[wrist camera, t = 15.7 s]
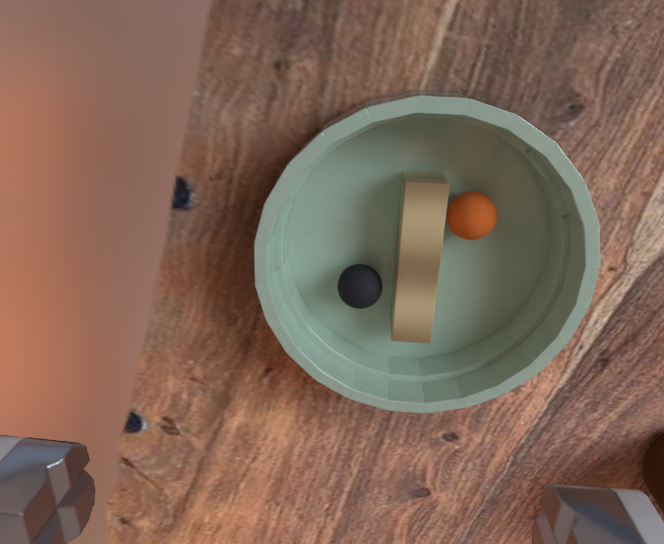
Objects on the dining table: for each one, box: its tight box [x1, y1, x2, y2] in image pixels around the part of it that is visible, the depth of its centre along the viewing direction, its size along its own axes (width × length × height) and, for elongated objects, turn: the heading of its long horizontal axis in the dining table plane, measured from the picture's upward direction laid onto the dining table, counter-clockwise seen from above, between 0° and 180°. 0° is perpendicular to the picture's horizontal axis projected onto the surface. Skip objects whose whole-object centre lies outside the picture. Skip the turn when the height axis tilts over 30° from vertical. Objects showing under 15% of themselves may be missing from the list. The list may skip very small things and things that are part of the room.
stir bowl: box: [254, 90, 600, 413], centre depth 30 cm, size 19×19×5 cm
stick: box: [390, 171, 450, 343], centre depth 31 cm, size 10×2×3 cm, turn 178°
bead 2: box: [447, 191, 497, 240], centre depth 29 cm, size 3×3×3 cm
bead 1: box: [337, 264, 382, 309], centre depth 32 cm, size 3×3×3 cm
